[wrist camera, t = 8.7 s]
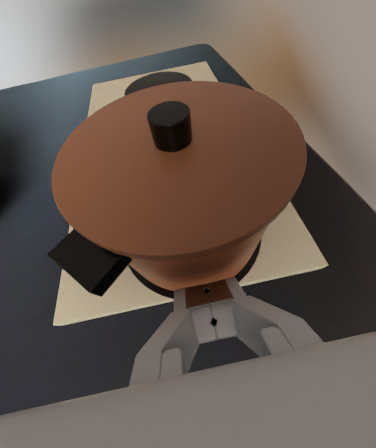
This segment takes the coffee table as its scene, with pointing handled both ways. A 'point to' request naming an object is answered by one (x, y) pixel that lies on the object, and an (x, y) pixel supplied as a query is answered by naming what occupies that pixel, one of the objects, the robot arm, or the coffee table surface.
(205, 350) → the coffee table surface
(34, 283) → the coffee table surface
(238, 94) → the pot
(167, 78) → the burner
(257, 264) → the hob
